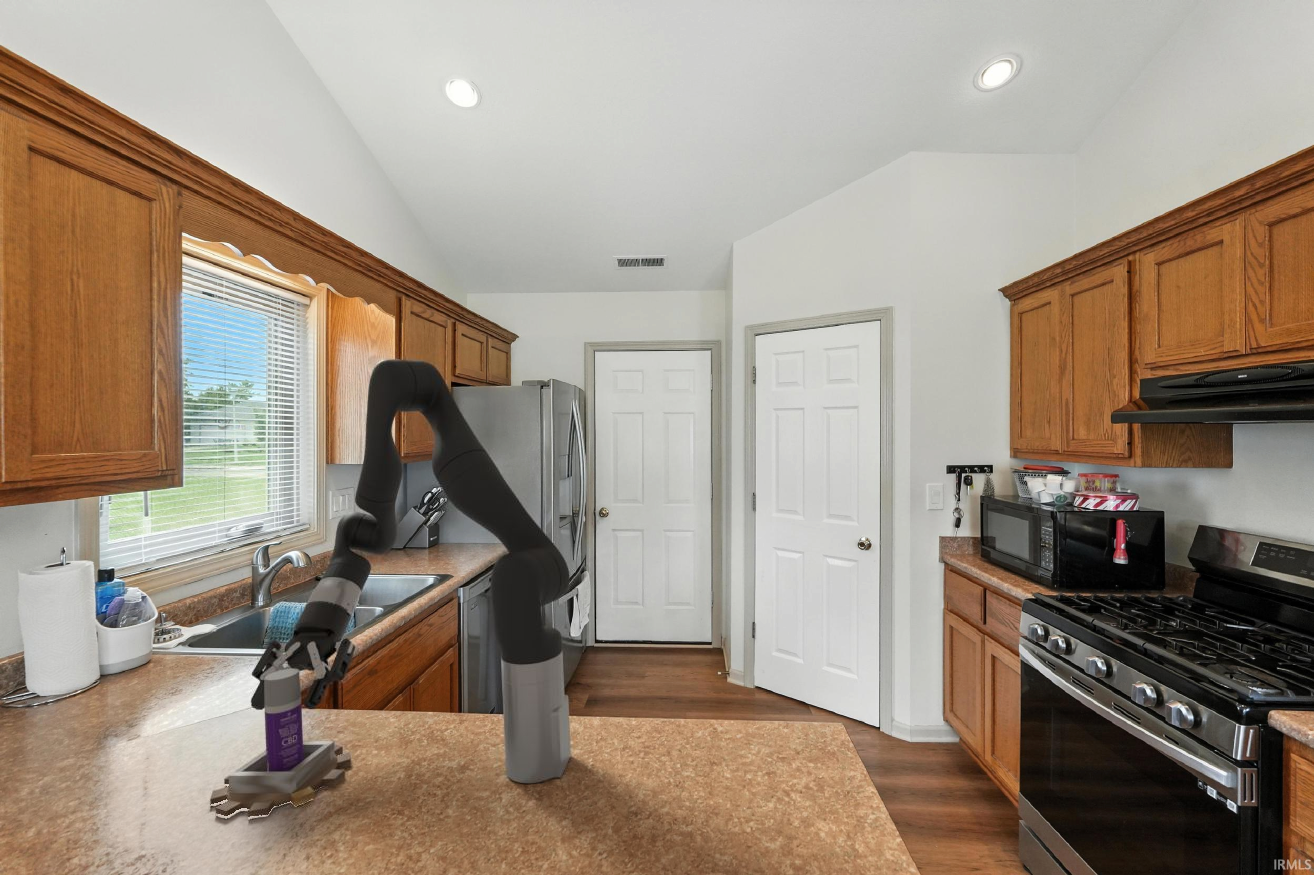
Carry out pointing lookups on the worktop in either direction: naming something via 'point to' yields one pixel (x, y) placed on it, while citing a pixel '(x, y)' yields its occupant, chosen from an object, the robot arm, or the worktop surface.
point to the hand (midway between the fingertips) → (282, 707)
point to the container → (283, 720)
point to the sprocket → (282, 780)
